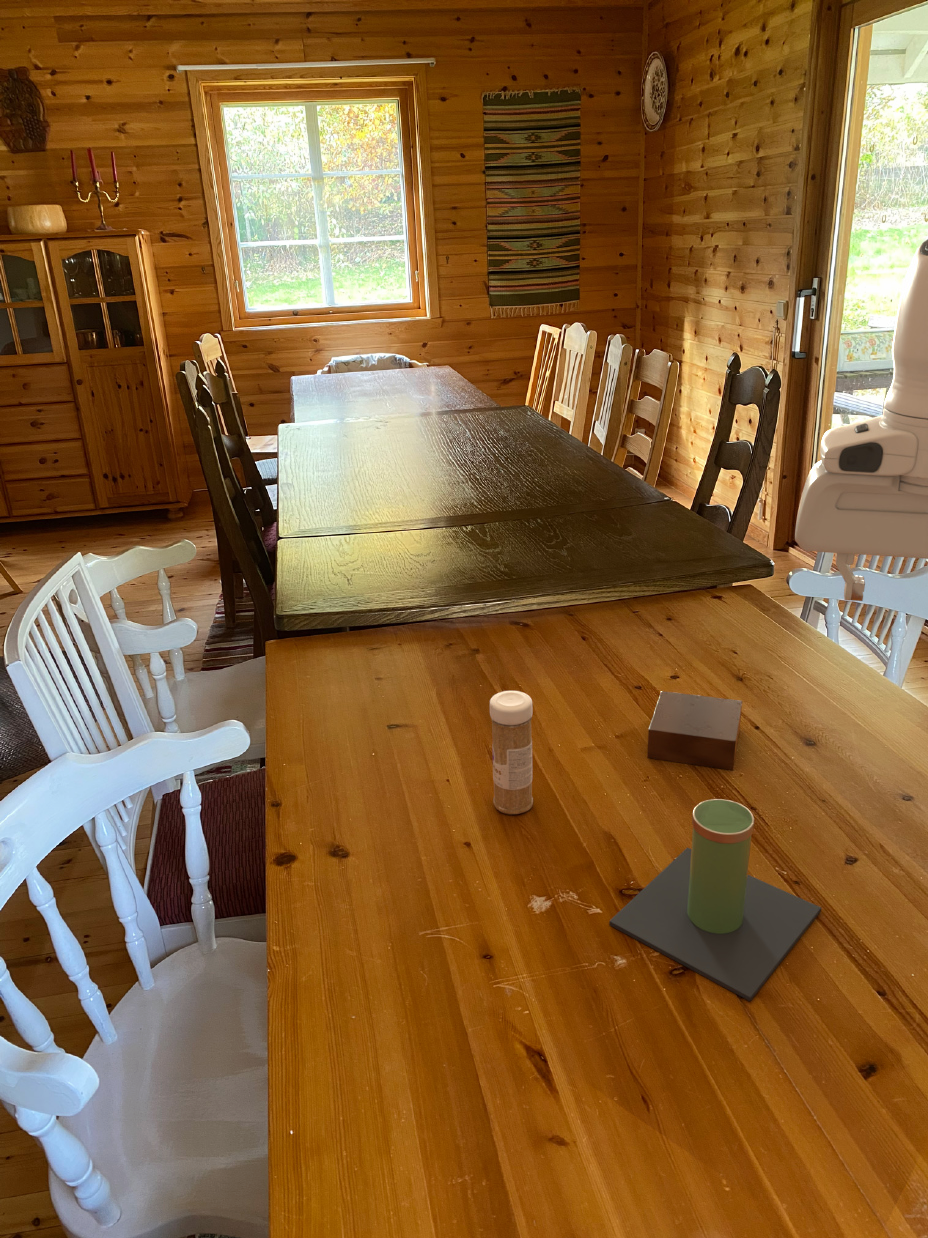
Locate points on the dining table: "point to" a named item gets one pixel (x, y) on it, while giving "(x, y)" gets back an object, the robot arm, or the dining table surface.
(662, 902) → the rubber mat
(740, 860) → the green canister
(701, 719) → the walnut block
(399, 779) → the dining table surface
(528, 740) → the sprinkles bottle
